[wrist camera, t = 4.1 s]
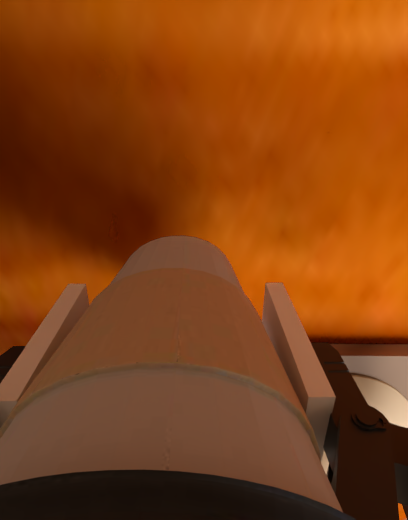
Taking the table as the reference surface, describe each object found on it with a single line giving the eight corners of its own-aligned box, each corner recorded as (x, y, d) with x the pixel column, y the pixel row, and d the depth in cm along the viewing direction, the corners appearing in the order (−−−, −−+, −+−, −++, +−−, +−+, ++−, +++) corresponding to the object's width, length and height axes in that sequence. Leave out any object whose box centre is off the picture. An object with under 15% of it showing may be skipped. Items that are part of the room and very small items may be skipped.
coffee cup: (152, 379, 21) (68, 922, 7) (47, 254, 17) (-528, 860, 4) (299, 312, 19) (565, 868, 5) (216, 156, 15) (375, 628, 2)
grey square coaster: (219, 482, 30) (219, 500, 29) (224, 343, 24) (225, 358, 22) (404, 483, 30) (413, 501, 29) (459, 344, 24) (474, 359, 22)
